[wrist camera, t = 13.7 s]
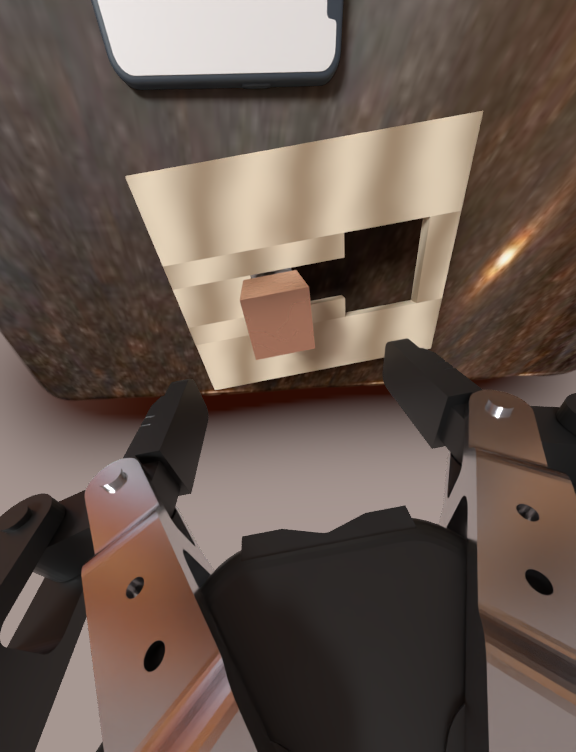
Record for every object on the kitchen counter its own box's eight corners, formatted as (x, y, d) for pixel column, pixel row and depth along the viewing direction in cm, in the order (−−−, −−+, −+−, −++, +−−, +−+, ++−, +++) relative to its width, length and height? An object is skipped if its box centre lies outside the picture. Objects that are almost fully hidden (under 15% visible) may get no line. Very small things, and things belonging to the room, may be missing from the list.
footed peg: (288, 247, 24) (317, 275, 13) (295, 296, 27) (323, 353, 16) (240, 256, 24) (228, 293, 13) (252, 304, 27) (250, 367, 16)
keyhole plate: (428, 135, 21) (483, 110, 16) (402, 326, 31) (430, 348, 26) (156, 185, 20) (125, 176, 15) (221, 361, 31) (214, 390, 26)
